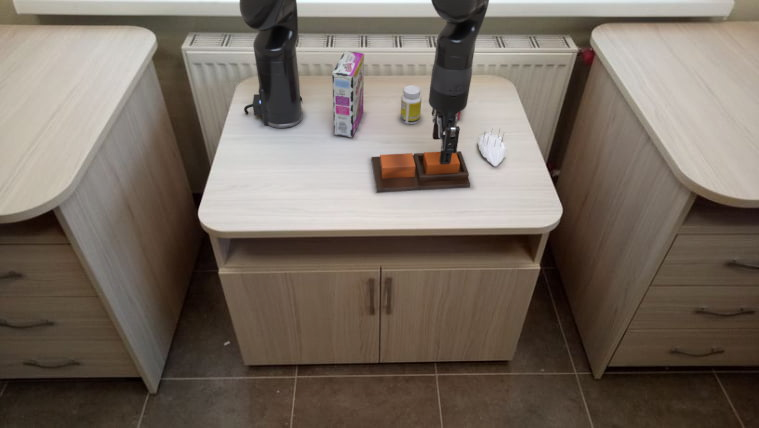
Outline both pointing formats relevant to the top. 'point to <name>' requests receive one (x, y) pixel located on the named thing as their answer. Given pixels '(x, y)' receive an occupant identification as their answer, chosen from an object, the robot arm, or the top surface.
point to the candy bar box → (348, 93)
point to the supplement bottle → (411, 104)
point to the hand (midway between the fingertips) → (441, 150)
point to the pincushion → (492, 147)
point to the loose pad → (434, 165)
